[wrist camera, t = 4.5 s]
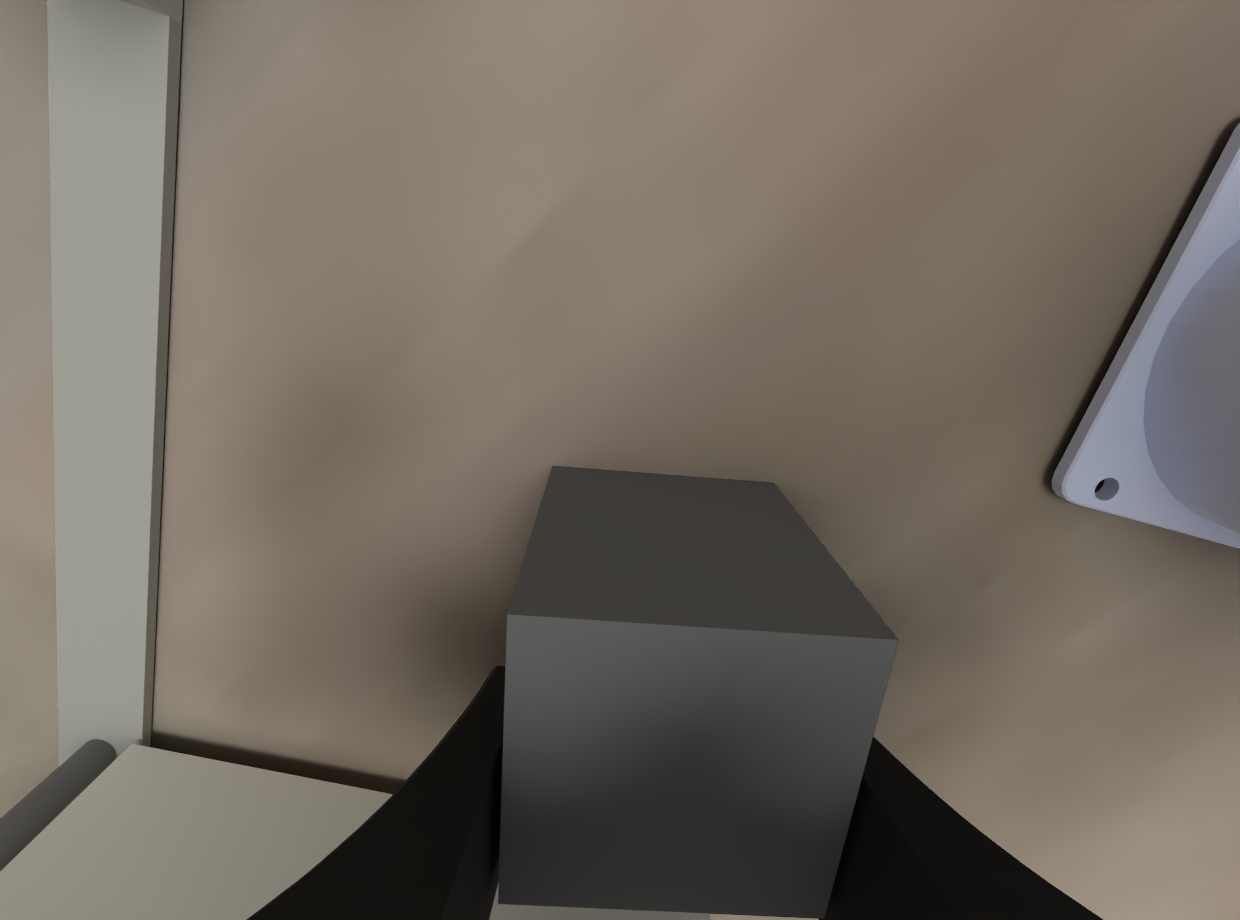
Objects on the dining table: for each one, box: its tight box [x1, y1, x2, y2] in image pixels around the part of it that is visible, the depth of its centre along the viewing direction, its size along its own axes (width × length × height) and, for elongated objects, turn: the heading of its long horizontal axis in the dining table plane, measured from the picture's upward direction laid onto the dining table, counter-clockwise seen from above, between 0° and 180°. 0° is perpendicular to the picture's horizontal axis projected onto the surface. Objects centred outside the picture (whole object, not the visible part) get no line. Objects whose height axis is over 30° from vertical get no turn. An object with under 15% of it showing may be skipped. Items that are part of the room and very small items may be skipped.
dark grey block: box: [498, 466, 899, 919], centre depth 11 cm, size 5×8×6 cm, turn 175°
